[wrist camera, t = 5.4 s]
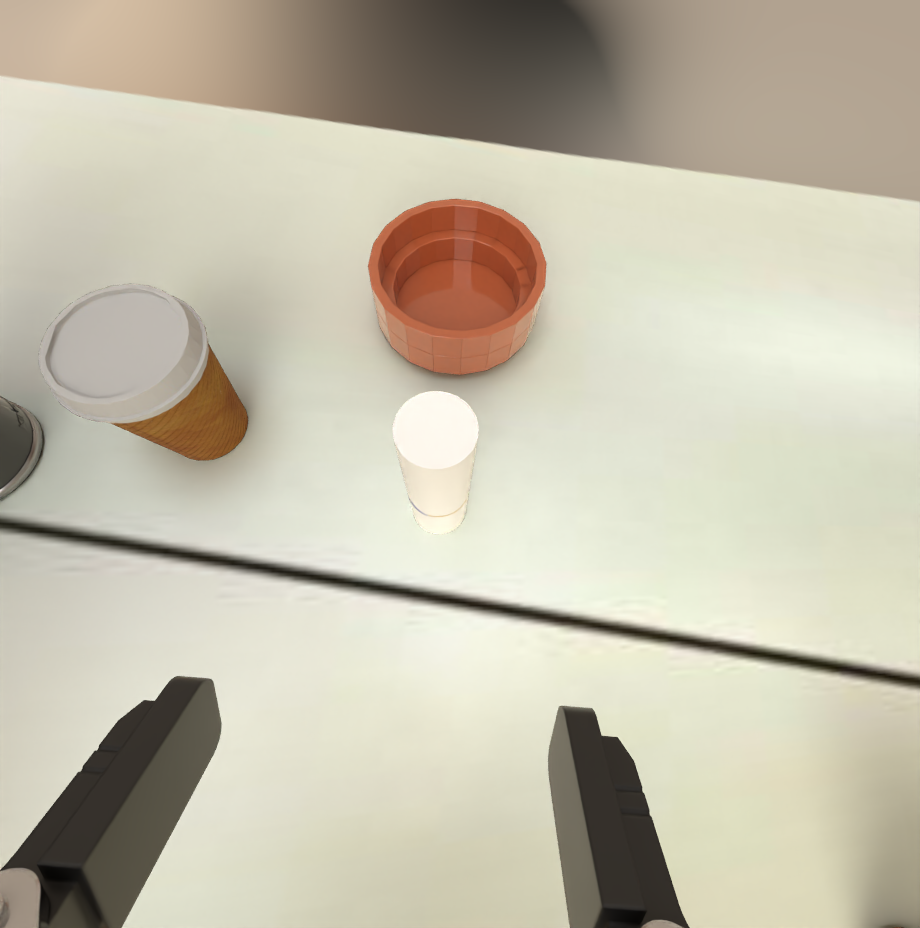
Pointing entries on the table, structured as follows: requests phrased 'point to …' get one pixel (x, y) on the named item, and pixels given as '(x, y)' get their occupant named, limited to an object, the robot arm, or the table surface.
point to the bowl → (456, 285)
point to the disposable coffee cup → (143, 370)
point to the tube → (436, 457)
